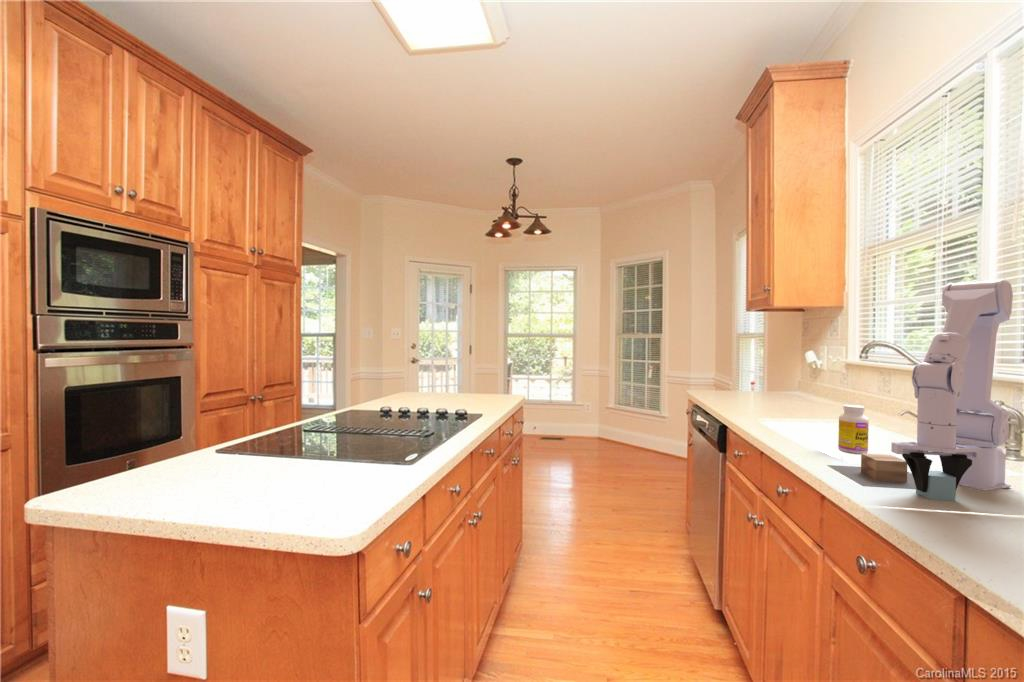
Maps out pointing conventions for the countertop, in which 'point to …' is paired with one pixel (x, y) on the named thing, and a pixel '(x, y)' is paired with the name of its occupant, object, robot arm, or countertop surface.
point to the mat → (865, 480)
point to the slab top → (884, 462)
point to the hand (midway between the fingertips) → (935, 491)
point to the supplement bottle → (853, 430)
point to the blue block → (940, 487)
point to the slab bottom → (884, 474)
